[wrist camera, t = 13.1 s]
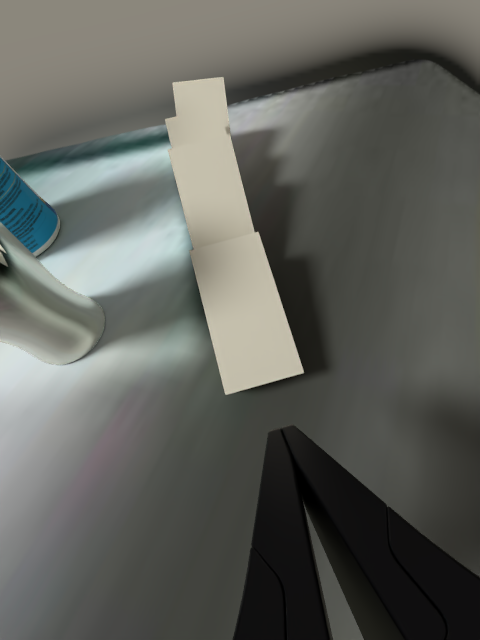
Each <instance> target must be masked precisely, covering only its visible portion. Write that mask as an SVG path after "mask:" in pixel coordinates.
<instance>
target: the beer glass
mask: <svg viewBox="0 0 480 640" xmlns="http://www.w3.org/2000/svg"><path fill="white" fill-rule="evenodd" d="M104 326H105V315H104V312H103V309H102V308H101V306H100V305H99V304H98V303H97V302H96V301H94V300H92V299H91V298H89V297H86V296H84V295H82V294H80V293H78V292H76V291H74V290H72V289H70V288H68V287H67V286H65V285H64V284H62V283H61V282H60V281H59V280H58V279H56V278H55V277H54V276H53V275H52V274H51V273H50V272H49V271H48V270H47V269H46V268H45V267H44V266H43V265H42V263H41V262H40V261H39V260H38V259H37V258H36V257H35V256H34V255H33V254H32V253H31V252H30V251H29V250H28V248H27V247H26V246H25V245H24V244H23V243H22V242H21V241H20V240H19V239H18V238H17V237H16V236H15V235H14V234H13V233H12V232H11V231H10V230H9V229H8V228H7V227H6V226H5V225H4V224H3V223H2V222H1V221H0V342H2V343H6V344H9V345H12V346H15V347H17V348H19V349H21V350H23V351H25V352H27V353H28V354H30V355H32V356H33V357H35V358H37V359H39V360H40V361H42V362H45V363H48V364H52V365H63V364H68V363H71V362H74V361H76V360H78V359H80V358H81V357H83V356H84V355H86V354H87V353H88V352H89V351H90V350H91V349H92V348H93V347H94V346H95V345H96V343H97V342H98V341H99V339H100V337H101V335H102V333H103V330H104Z"/></svg>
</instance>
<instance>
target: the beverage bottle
mask: <svg viewBox="0 0 480 640" xmlns="http://www.w3.org/2000/svg"><path fill="white" fill-rule="evenodd" d="M0 221H1V222H2V223H3V224H4V225H5V226H6V227H7V228H8V229H9V230H10V231H11V232H12V233H13V234H14V235H15V236H16V237H17V238H18V239H19V240H20V241H21V242H22V243H23V244H24V245H25V246H26V247H27V248H28V250H29V251H30V252H31V253H32V254H33V255H34V256H35V257H36V256H38V255H39V254H41V253H42V252H43V251H45V250H46V249H47V248H48V247H49V246H50V245H51V244H52V243H53V241H54V240H55V238H56V237H57V235H58V232H59V229H60V219H59V216H58V214H57V213H56V212H55V210H54V209H53V208H52V207H51V206H50V205H49V204H48V203H47V202H45V201H44V200H43V199H42V198H41V197H40V196H39V195H38V194H37V193H36V192H35V191H34V190H33V189H32V188H31V187H30V186H29V185H28V184H27V183H26V182H25V181H24V180H23V179H22V178H21V177H20V176H19V175H18V174H17V173H16V172H15V171H14V170H13V169H12V167H11V166H10V165H9V164H8V163H7V162H6V161H5V160H4V159H3V158H2V157H1V156H0Z"/></svg>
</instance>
